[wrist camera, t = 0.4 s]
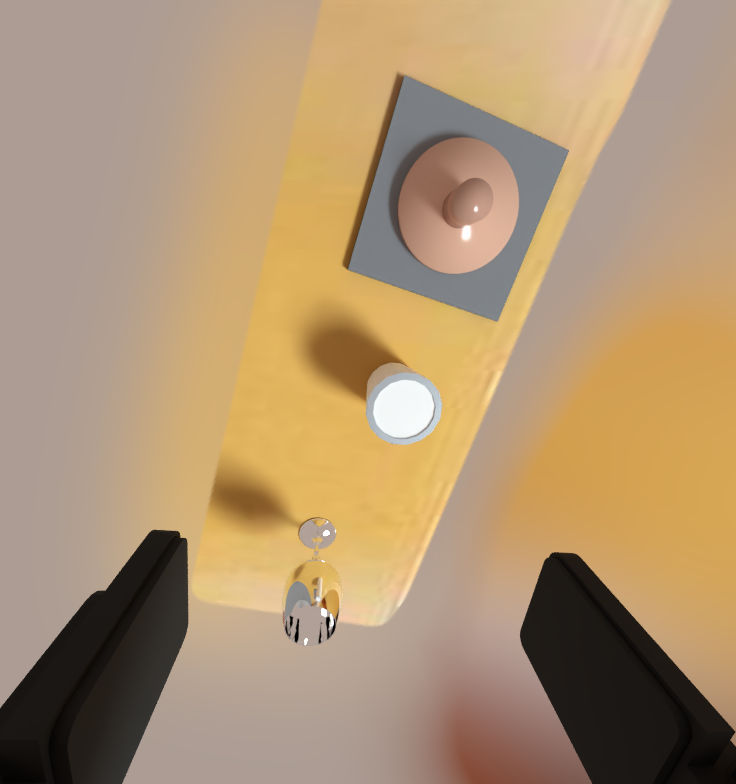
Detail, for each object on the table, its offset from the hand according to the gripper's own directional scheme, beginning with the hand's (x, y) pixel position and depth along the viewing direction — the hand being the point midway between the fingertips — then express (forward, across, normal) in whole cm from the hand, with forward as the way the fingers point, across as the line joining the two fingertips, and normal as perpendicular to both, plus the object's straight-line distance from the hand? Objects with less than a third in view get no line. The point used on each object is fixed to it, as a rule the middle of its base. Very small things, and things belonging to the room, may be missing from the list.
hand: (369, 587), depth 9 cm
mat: (+28, -8, -15) cm, 33 cm away
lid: (+28, -8, -15) cm, 33 cm away
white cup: (+29, -5, +2) cm, 29 cm away
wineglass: (+29, +1, +22) cm, 36 cm away
